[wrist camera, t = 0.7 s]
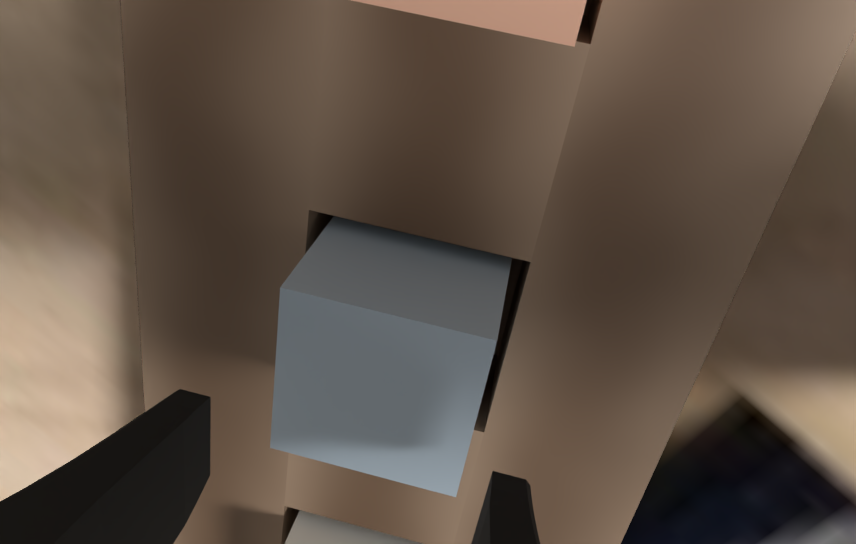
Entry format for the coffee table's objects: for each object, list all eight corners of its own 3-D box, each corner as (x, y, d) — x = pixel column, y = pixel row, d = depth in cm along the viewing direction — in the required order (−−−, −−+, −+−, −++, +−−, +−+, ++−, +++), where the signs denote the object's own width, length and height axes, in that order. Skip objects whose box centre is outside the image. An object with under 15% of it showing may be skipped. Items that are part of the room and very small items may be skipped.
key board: (952, -409, 13) (1119, -541, 9) (539, 618, 28) (532, 734, 24) (220, -515, 14) (79, -675, 10) (213, 527, 29) (157, 625, 25)
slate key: (512, 258, 16) (496, 340, 13) (476, 399, 19) (456, 497, 16) (334, 215, 17) (280, 287, 14) (319, 359, 19) (270, 447, 16)
